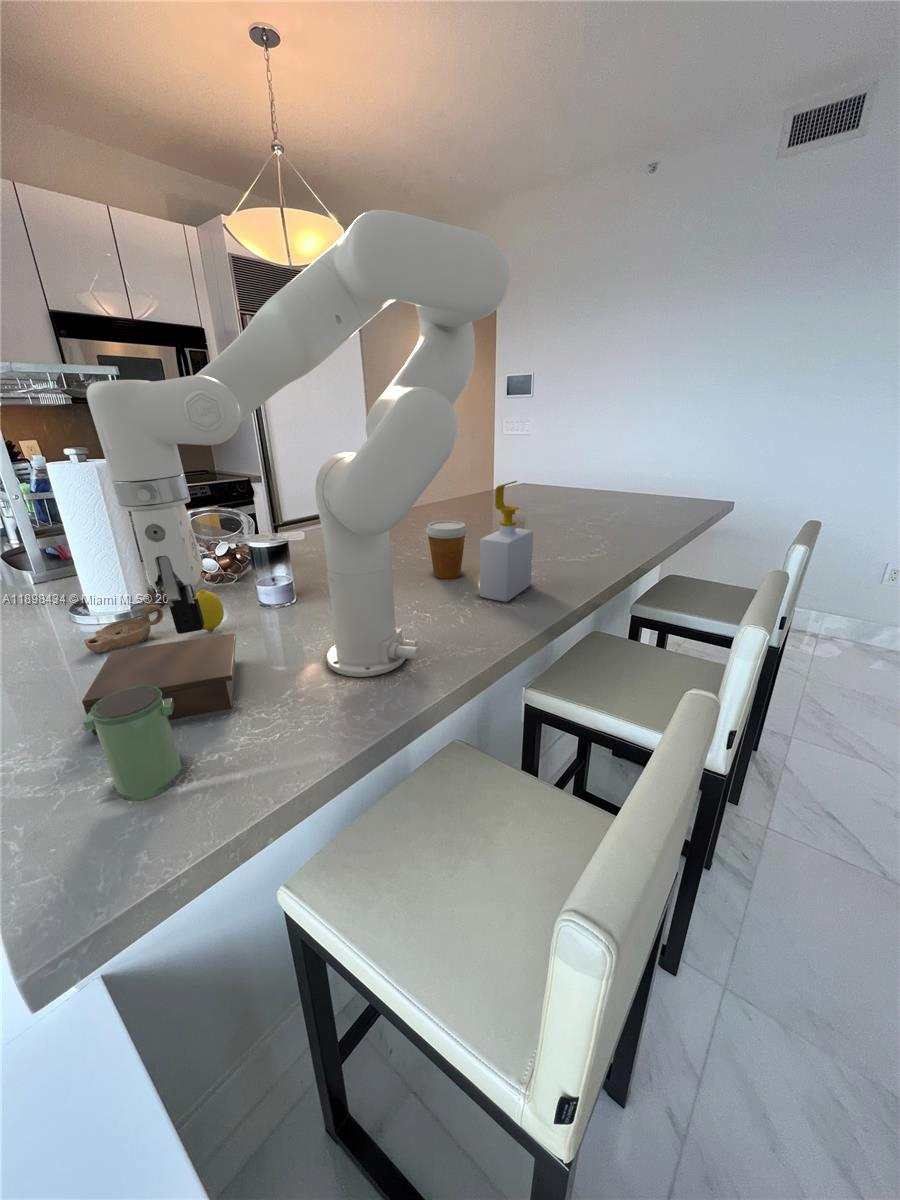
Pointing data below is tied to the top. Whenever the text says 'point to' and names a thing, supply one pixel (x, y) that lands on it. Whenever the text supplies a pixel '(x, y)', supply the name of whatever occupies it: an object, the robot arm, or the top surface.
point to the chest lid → (166, 666)
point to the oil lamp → (124, 632)
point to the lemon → (210, 609)
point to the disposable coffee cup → (446, 547)
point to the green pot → (136, 740)
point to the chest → (196, 700)
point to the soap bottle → (505, 556)
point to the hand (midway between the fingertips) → (191, 629)
